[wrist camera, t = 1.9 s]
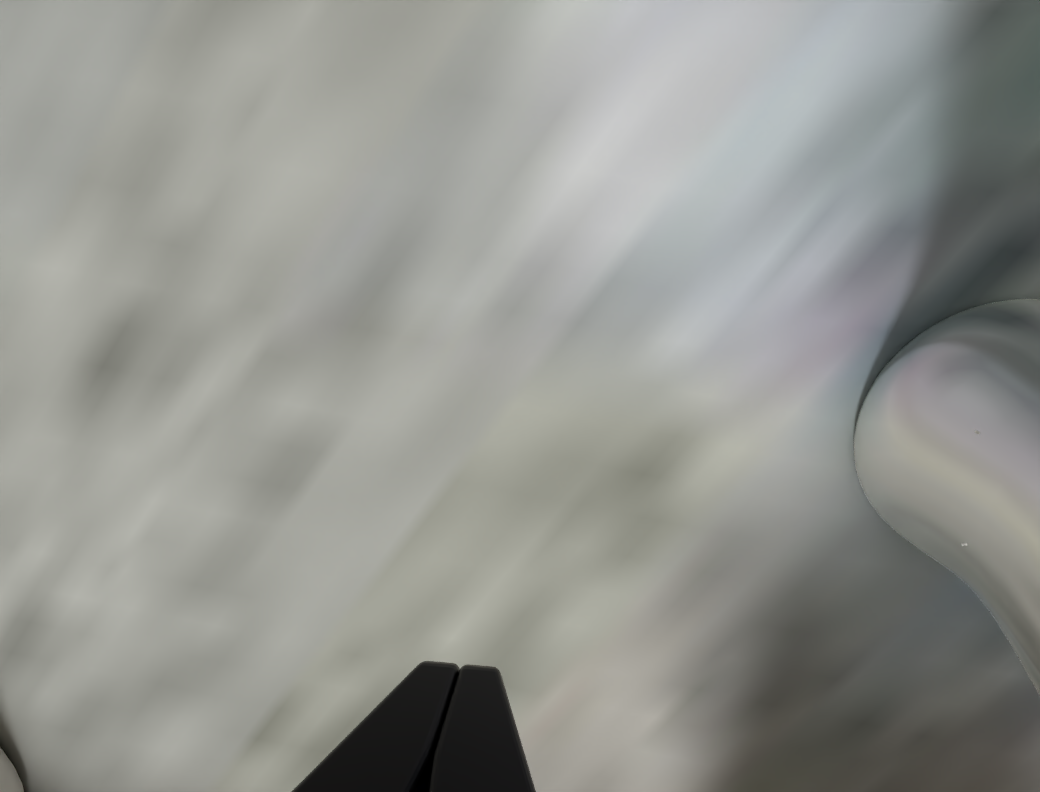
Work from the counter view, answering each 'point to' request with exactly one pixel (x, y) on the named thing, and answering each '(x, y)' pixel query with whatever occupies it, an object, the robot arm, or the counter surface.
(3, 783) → the milk bottle
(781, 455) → the counter surface
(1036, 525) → the beer glass
